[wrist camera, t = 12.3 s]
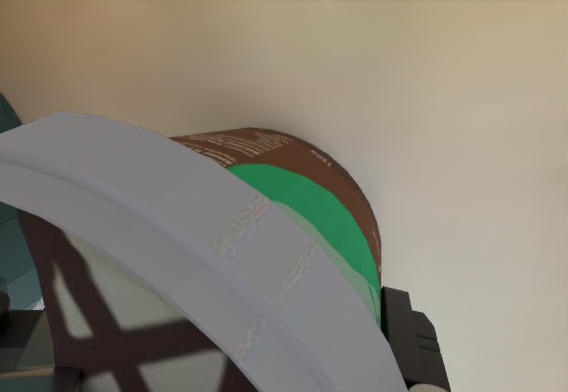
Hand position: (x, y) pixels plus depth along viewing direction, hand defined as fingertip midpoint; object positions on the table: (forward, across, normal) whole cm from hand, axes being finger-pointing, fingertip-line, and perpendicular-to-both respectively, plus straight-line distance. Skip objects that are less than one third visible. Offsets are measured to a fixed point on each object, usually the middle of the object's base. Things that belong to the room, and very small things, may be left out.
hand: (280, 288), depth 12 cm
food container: (+3, -1, 0) cm, 3 cm away
